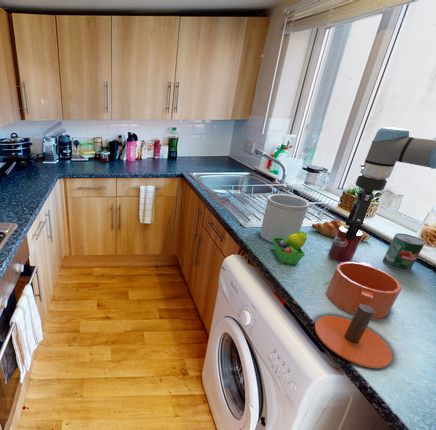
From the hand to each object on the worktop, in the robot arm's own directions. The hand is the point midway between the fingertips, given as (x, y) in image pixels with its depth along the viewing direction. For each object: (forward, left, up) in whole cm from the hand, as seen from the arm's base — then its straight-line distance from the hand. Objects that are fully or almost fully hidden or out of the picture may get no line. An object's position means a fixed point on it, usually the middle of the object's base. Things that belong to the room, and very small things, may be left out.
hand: (349, 232), depth 104 cm
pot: (-5, +26, -11) cm, 29 cm away
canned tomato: (-17, -9, -12) cm, 23 cm away
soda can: (0, 0, -12) cm, 12 cm away
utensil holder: (+22, -3, -12) cm, 25 cm away
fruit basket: (+16, +12, -12) cm, 23 cm away
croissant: (+1, -22, -12) cm, 25 cm away
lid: (-4, +46, -11) cm, 47 cm away
